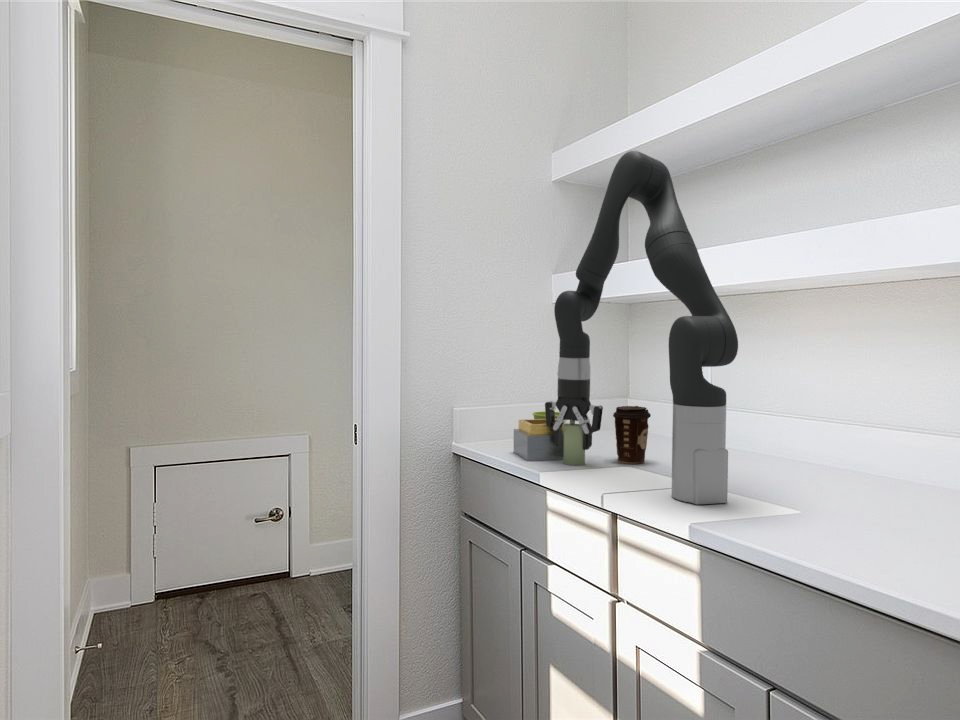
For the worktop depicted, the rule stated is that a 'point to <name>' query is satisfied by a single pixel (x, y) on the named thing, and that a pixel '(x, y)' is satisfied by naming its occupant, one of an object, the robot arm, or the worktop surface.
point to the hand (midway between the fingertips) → (572, 447)
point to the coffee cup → (631, 433)
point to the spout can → (573, 444)
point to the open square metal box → (537, 441)
